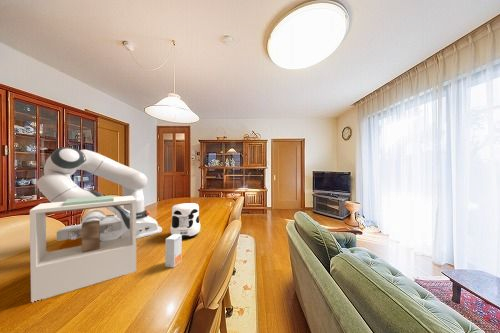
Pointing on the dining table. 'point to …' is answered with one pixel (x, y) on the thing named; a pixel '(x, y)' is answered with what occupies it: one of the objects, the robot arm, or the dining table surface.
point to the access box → (78, 251)
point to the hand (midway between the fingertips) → (90, 234)
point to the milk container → (185, 220)
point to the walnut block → (90, 236)
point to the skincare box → (173, 250)
